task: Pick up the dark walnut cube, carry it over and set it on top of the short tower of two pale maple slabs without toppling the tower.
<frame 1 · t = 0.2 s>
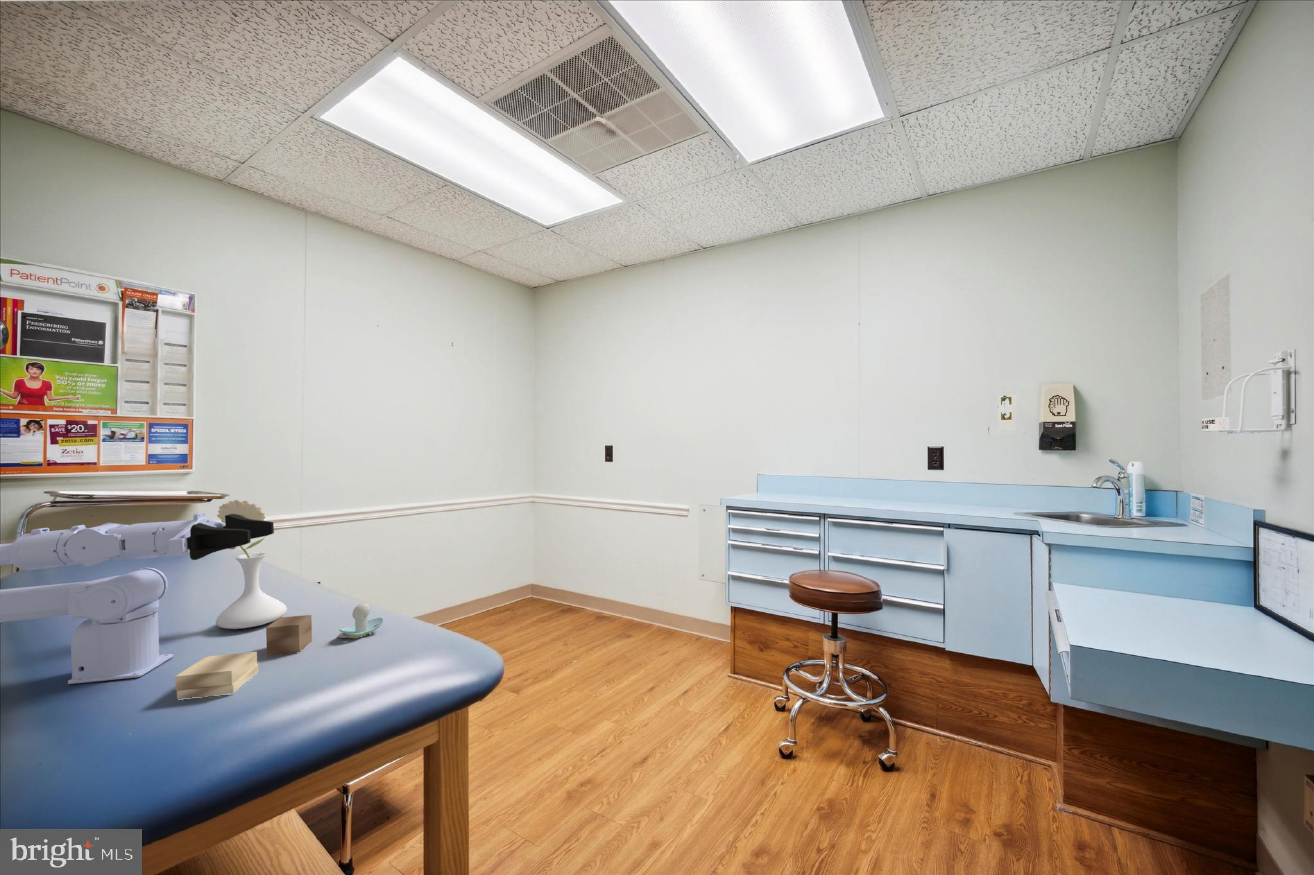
hand: (261, 532, 89), 21 cm above the table, tool horizontal, fingers open, 7 cm apart
slab top: (218, 676, 79), point 1 cm above the table, touching slab bottom
pacifier: (359, 636, 99), on the table
slab bottom: (220, 689, 79), on the table, touching slab top
walnut cube: (290, 649, 92), on the table
flower in vase: (249, 624, 105), on the table
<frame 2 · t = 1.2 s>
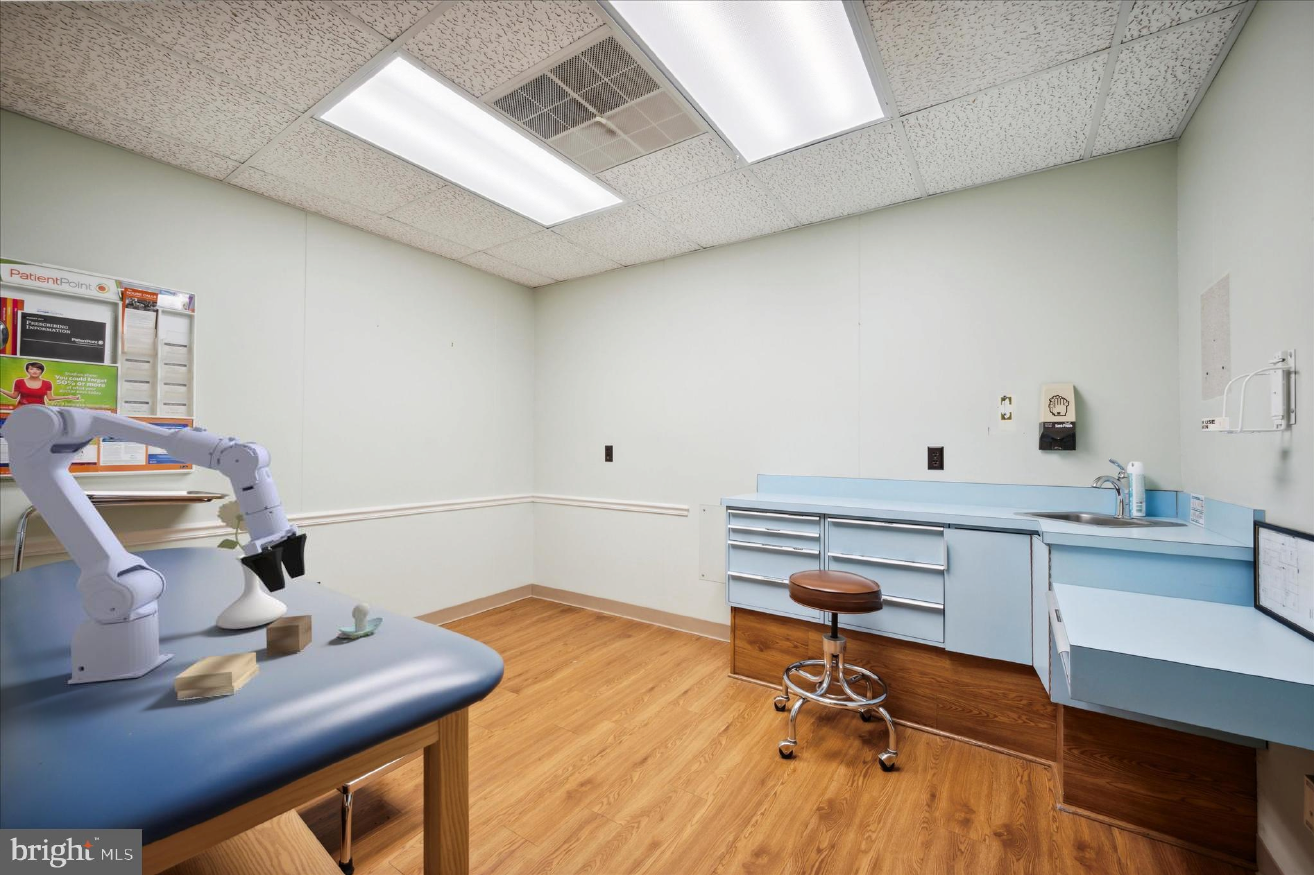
hand: (288, 583, 92), 12 cm above the table, tool tilted 15°, fingers open, 7 cm apart
slab top: (217, 677, 79), point 1 cm above the table
slab bottom: (220, 690, 79), on the table
everything else where it was.
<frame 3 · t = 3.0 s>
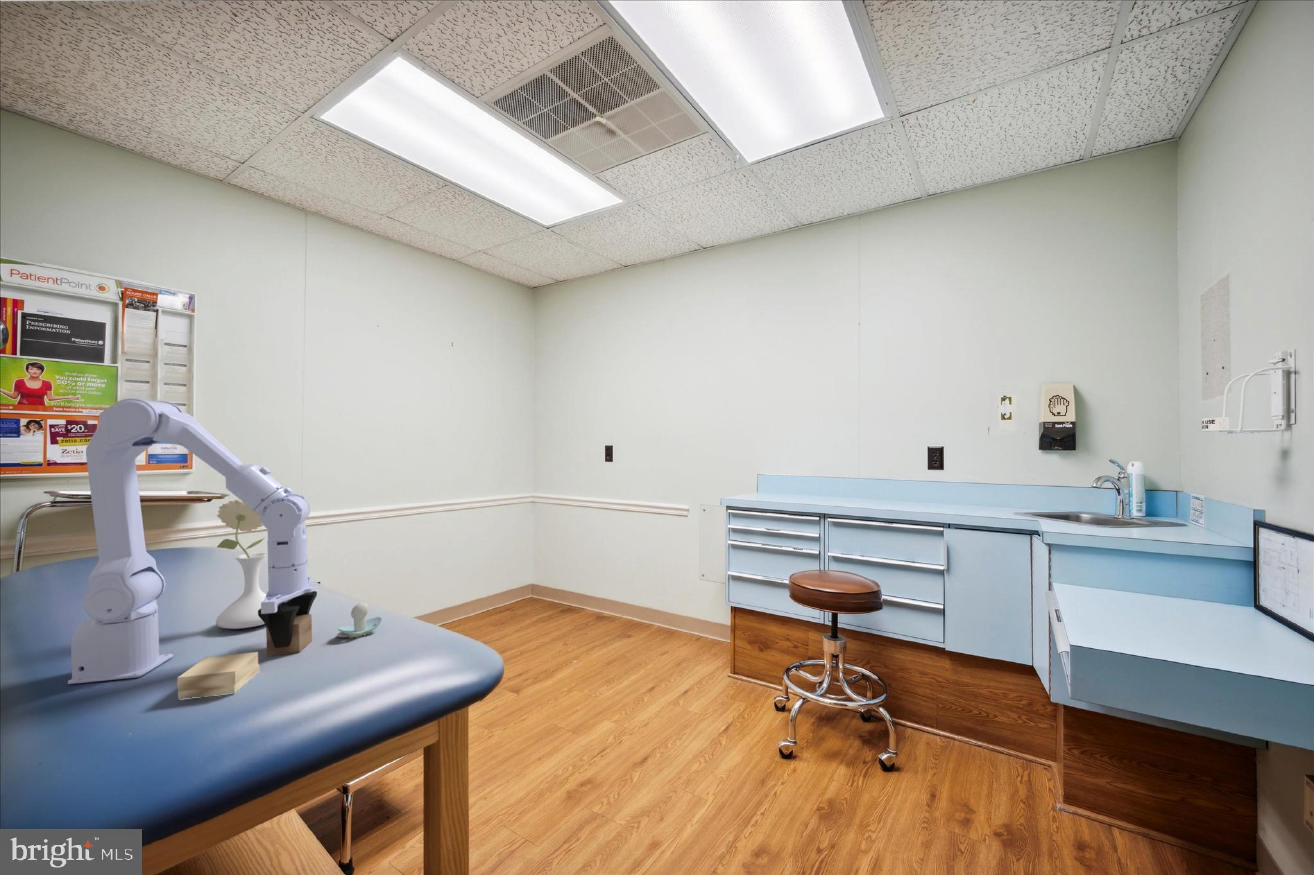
hand: (289, 640, 92), 1 cm above the table, tool pointing down, fingers closed on walnut cube, 5 cm apart
slab top: (220, 677, 79), point 1 cm above the table, touching slab bottom
slab bottom: (221, 689, 79), on the table, touching slab top
walnut cube: (290, 648, 92), on the table, touching gripper
everything else where it was.
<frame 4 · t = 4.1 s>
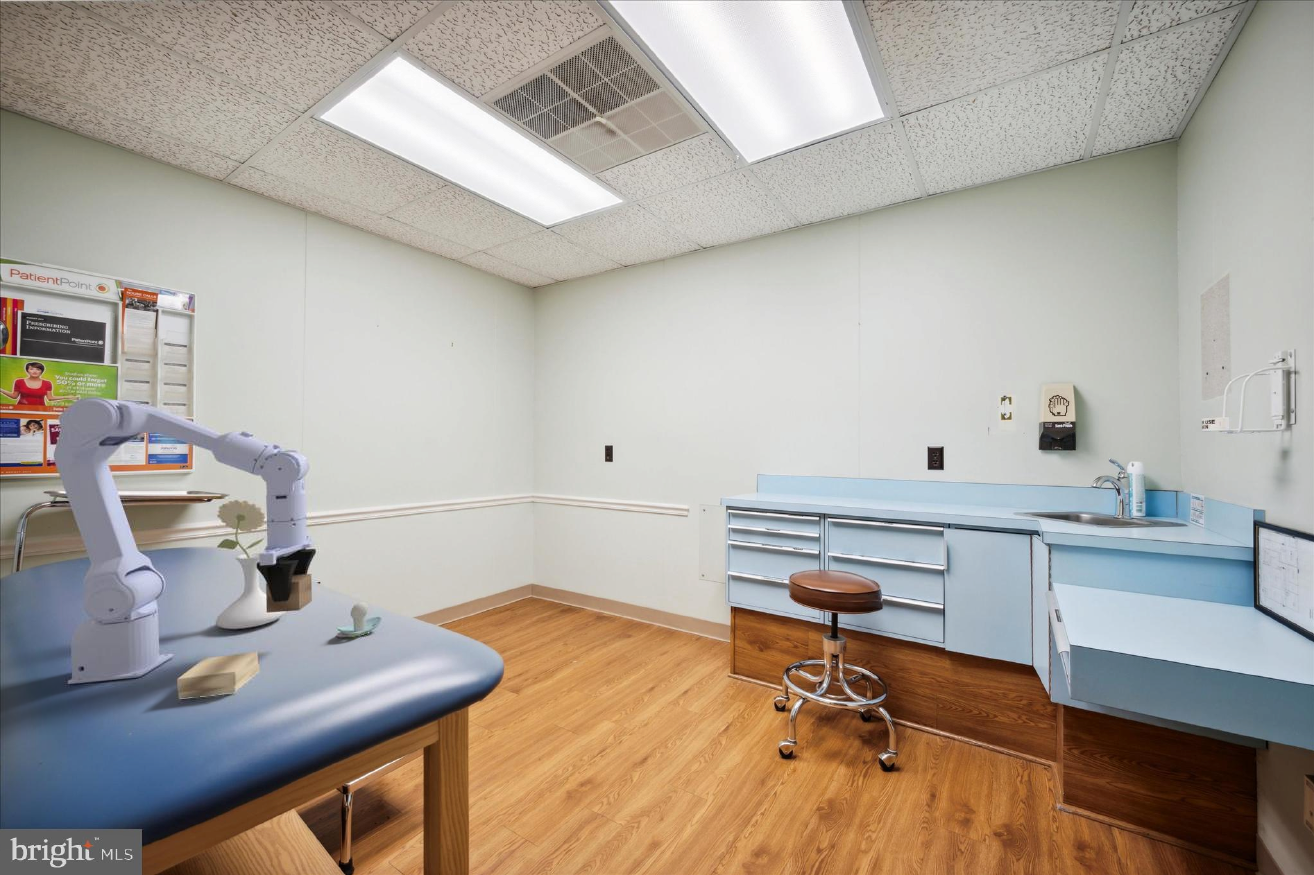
hand: (288, 595, 92), 9 cm above the table, tool pointing down, fingers closed on walnut cube, 5 cm apart
walnut cube: (289, 606, 92), point 7 cm above the table, touching gripper
everything else where it was.
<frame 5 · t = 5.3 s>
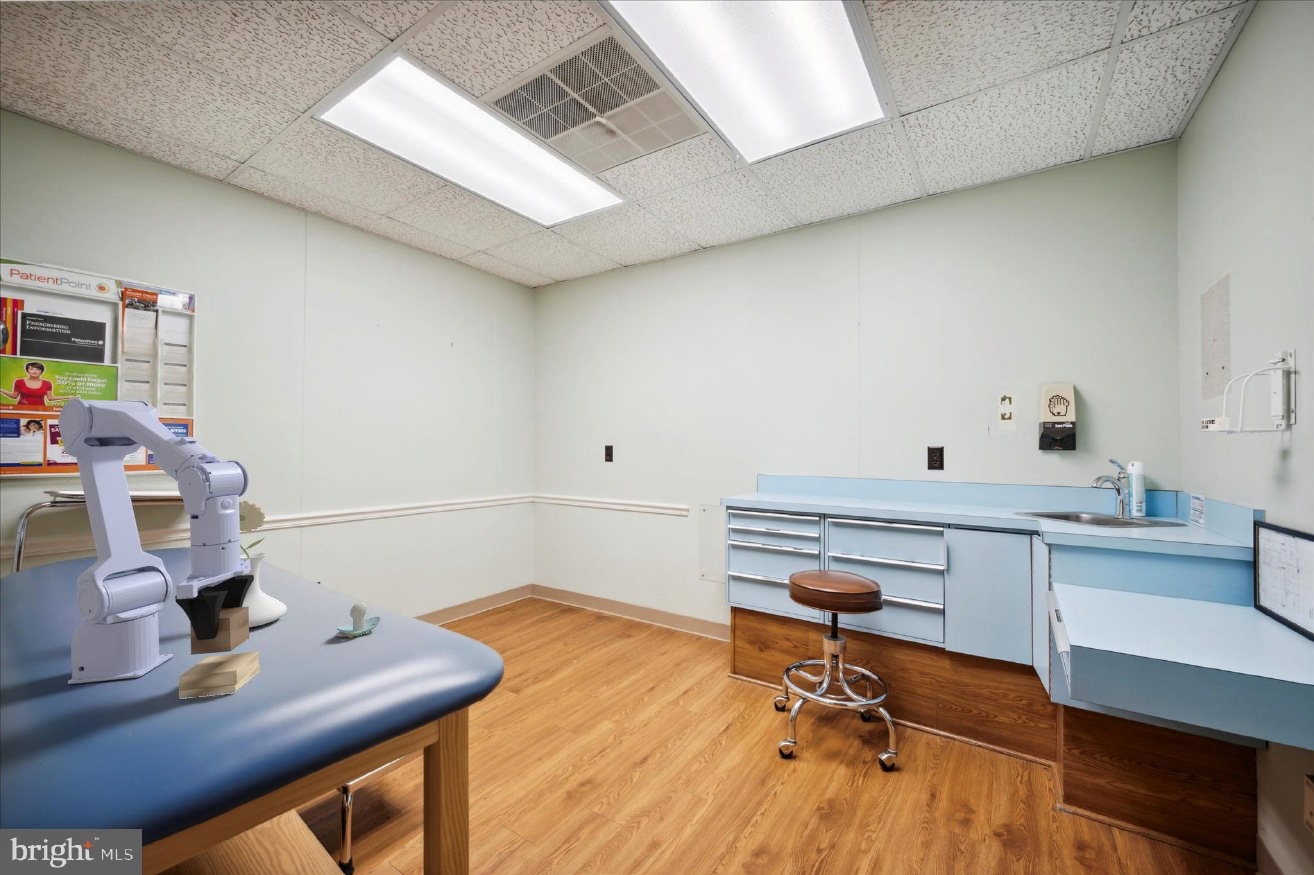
hand: (218, 631, 79), 8 cm above the table, tool pointing down, fingers closed on walnut cube, 5 cm apart
walnut cube: (221, 646, 79), point 6 cm above the table, touching gripper
everything else where it was.
when the fingers open (7 cm above the table, at t = 6.0 s): walnut cube drops 1 cm, point 4 cm above the table.
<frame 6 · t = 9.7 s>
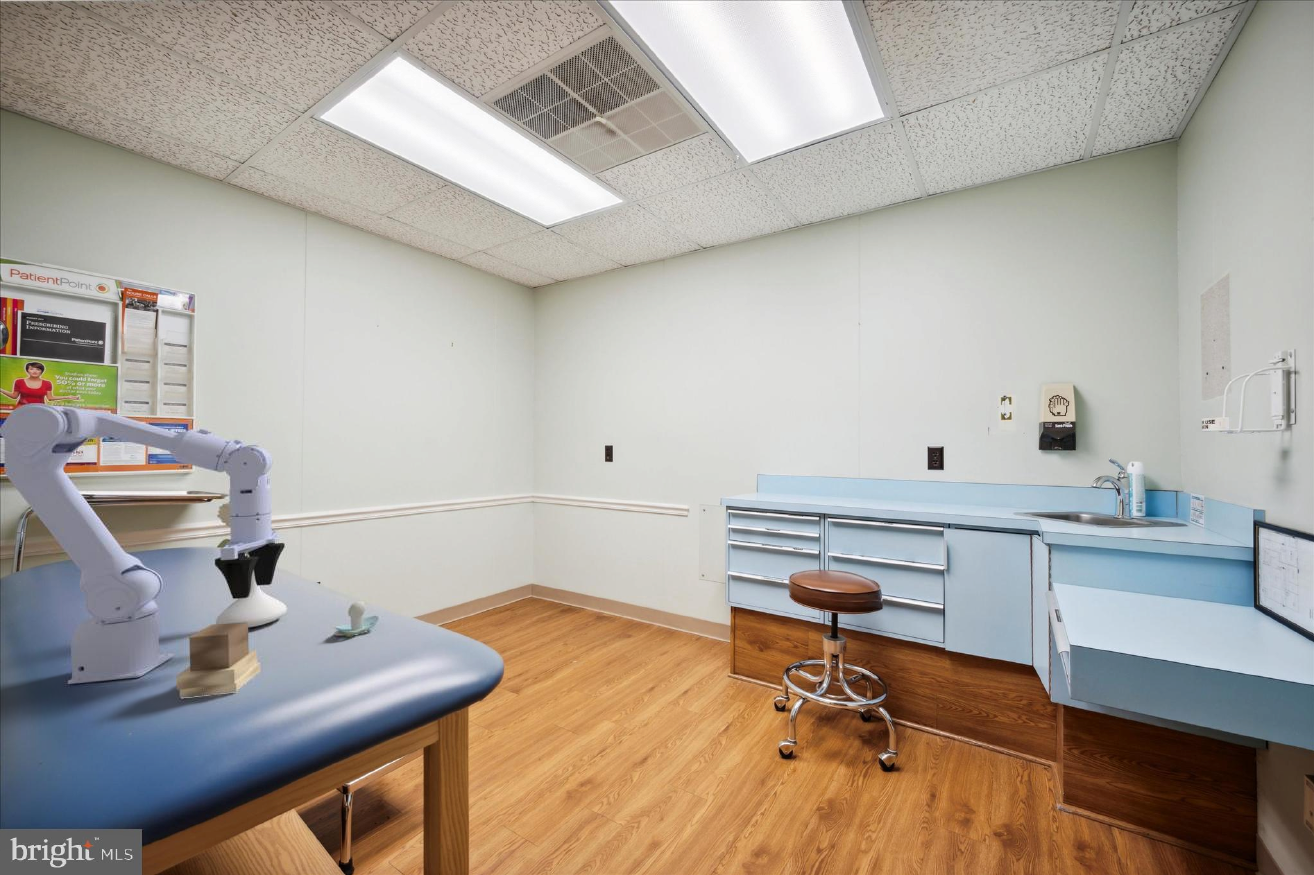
hand: (252, 591, 92), 10 cm above the table, tool pointing down, fingers open, 7 cm apart
slab top: (219, 675, 79), point 2 cm above the table
slab bottom: (222, 688, 79), on the table
walnut cube: (220, 662, 79), point 4 cm above the table
at the end: walnut cube 0.3 cm off-centre on the slab top, point 2.1 cm above the slab top's base; walnut cube tilted 0°; slab top moved 0.6 cm from its start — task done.
